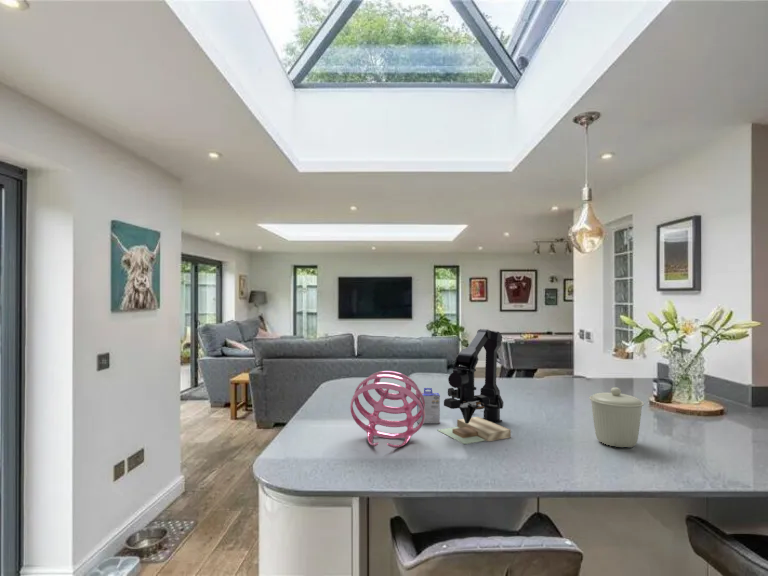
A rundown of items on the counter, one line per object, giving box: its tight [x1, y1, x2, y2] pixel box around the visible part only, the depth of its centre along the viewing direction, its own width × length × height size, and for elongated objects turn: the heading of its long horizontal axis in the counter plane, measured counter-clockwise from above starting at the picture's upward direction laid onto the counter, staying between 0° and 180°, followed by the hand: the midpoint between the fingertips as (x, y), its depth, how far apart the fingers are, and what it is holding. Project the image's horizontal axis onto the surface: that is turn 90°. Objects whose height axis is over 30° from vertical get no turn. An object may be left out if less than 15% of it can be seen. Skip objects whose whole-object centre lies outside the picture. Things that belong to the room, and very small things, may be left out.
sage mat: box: [437, 426, 486, 445], centre depth 166 cm, size 10×18×1 cm, turn 26°
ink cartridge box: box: [416, 387, 441, 424], centre depth 184 cm, size 10×6×14 cm, turn 90°
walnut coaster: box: [453, 427, 478, 438], centre depth 167 cm, size 7×7×2 cm
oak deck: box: [456, 416, 512, 442], centre depth 171 cm, size 11×20×3 cm, turn 26°
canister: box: [589, 387, 645, 448], centre depth 158 cm, size 18×18×21 cm
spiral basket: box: [349, 370, 425, 449], centre depth 157 cm, size 28×28×27 cm
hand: (466, 423), depth 168 cm, fingers closed
